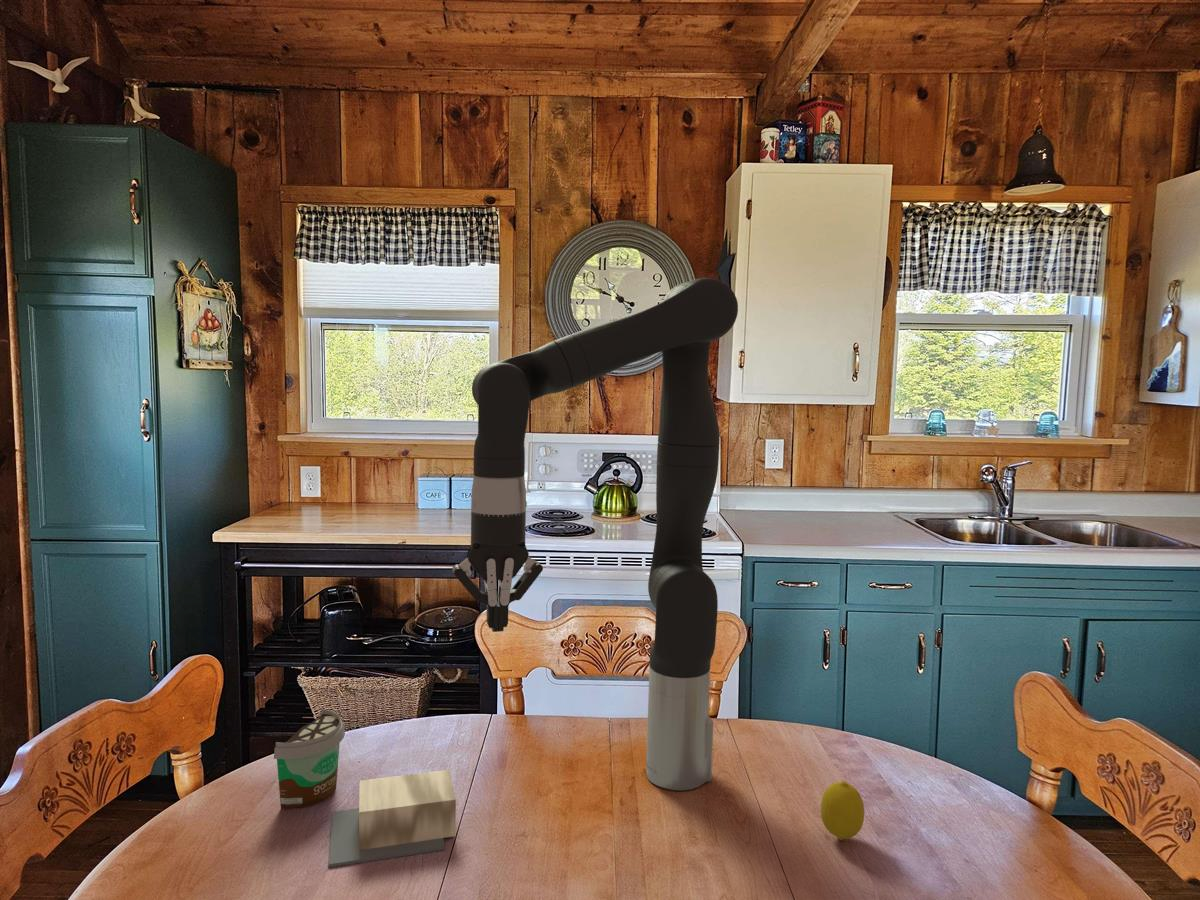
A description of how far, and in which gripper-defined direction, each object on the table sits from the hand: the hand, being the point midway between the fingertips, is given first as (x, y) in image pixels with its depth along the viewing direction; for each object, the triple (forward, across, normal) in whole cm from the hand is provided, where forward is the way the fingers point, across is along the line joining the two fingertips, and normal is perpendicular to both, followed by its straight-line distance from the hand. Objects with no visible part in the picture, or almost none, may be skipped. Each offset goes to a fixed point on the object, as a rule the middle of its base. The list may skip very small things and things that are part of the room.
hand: (496, 630), depth 108 cm
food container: (+25, +24, -8) cm, 36 cm away
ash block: (+22, +6, +4) cm, 23 cm away
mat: (+25, +15, +4) cm, 29 cm away
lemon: (+25, -43, +21) cm, 54 cm away
